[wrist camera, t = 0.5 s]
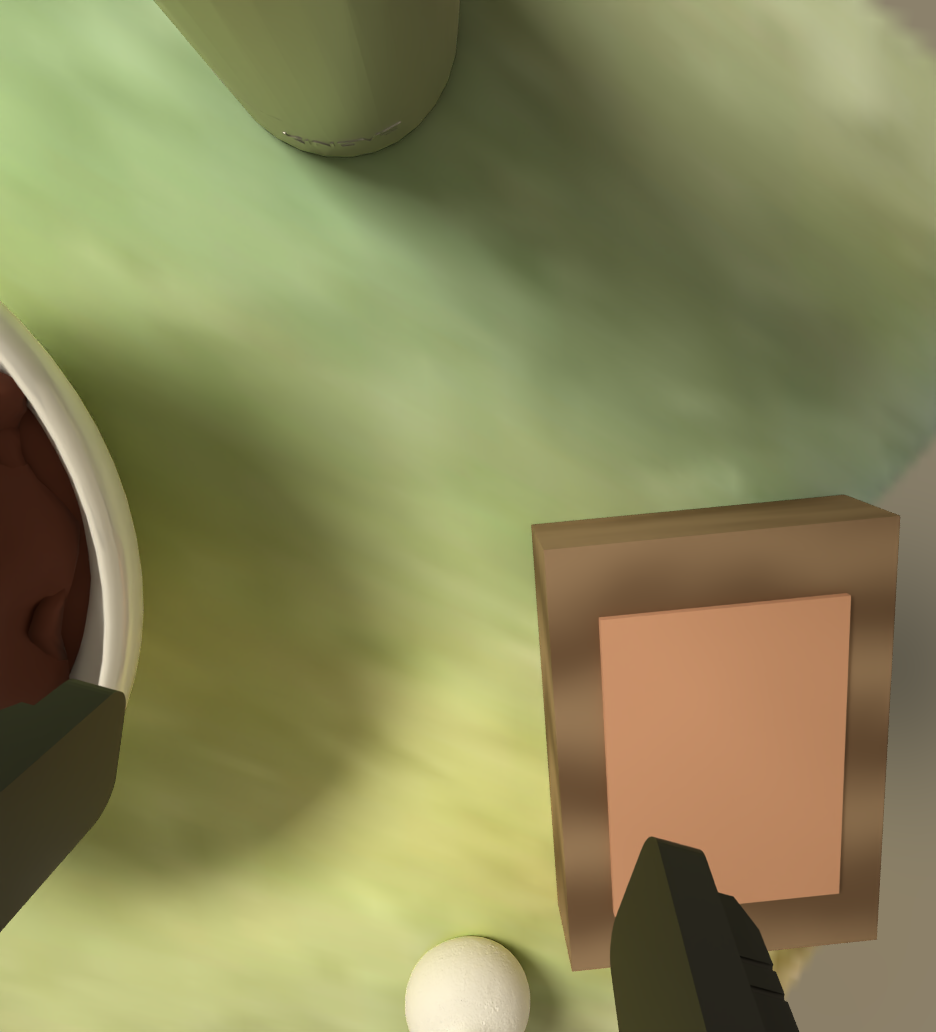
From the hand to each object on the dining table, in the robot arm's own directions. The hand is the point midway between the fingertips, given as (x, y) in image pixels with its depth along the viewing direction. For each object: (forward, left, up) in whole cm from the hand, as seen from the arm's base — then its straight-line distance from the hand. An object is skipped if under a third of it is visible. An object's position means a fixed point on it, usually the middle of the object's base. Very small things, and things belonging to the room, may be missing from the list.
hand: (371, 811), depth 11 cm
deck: (+11, +12, -21) cm, 27 cm away
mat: (+11, +12, -17) cm, 24 cm away
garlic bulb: (+25, 0, -22) cm, 33 cm away
